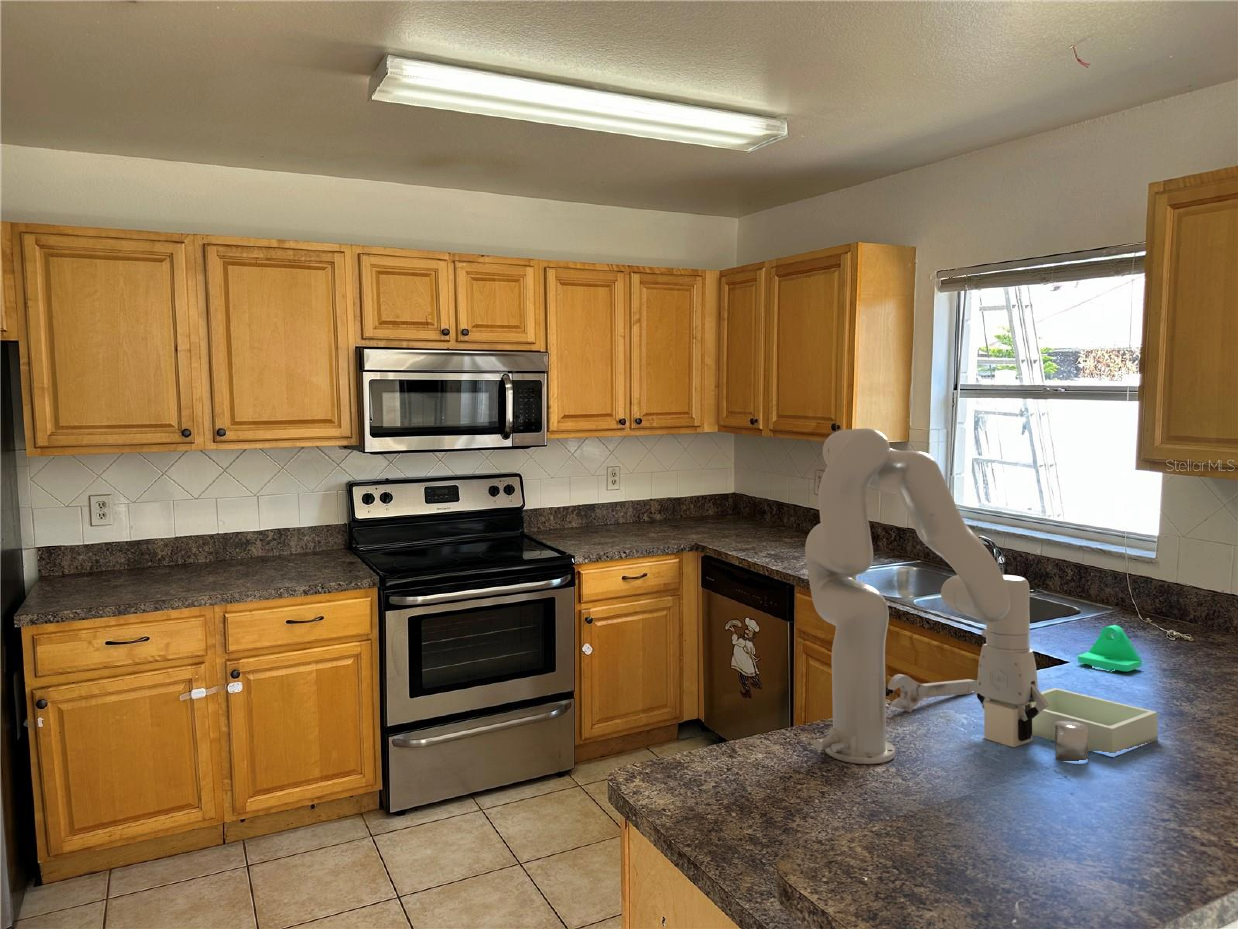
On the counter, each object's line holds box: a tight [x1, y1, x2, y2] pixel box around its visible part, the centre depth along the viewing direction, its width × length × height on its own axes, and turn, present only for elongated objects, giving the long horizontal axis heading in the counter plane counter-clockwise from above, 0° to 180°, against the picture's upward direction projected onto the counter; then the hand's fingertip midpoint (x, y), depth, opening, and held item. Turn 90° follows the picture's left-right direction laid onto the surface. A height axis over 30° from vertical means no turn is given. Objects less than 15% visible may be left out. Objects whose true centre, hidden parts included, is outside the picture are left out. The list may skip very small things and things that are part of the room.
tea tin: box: [1054, 721, 1089, 762], centre depth 151 cm, size 5×5×6 cm
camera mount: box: [1077, 624, 1143, 672], centre depth 210 cm, size 12×8×10 cm, turn 36°
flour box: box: [983, 700, 1033, 748], centre depth 161 cm, size 6×6×7 cm
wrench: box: [887, 673, 976, 713], centre depth 185 cm, size 8×2×30 cm
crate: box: [1031, 687, 1159, 753], centre depth 164 cm, size 16×20×5 cm
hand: (1008, 733), depth 162 cm, fingers closed on flour box, 6 cm apart
